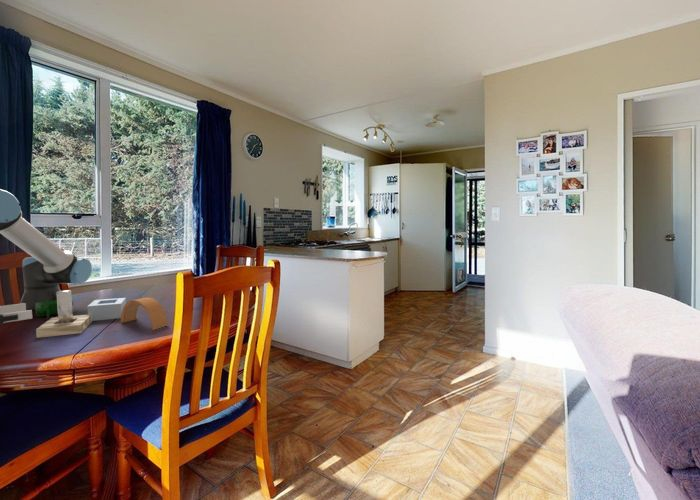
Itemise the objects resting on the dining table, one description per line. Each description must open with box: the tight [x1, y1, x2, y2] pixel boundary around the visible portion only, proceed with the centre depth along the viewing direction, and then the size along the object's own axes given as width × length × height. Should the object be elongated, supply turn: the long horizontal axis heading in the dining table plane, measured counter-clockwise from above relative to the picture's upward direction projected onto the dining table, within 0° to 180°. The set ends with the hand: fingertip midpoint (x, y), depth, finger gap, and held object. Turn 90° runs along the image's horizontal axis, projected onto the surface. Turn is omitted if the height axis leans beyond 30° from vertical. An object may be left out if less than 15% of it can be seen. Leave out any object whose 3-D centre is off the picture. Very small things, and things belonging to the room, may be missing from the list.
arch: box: [120, 297, 169, 331], centre depth 127 cm, size 6×20×10 cm, turn 63°
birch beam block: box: [35, 314, 93, 339], centre depth 121 cm, size 14×12×3 cm
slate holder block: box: [87, 297, 127, 322], centre depth 138 cm, size 11×11×6 cm
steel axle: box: [56, 289, 74, 324], centre depth 120 cm, size 4×4×14 cm
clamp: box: [34, 300, 74, 318], centre depth 138 cm, size 12×6×9 cm, turn 132°
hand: (28, 310), depth 113 cm, fingers open, 13 cm apart
